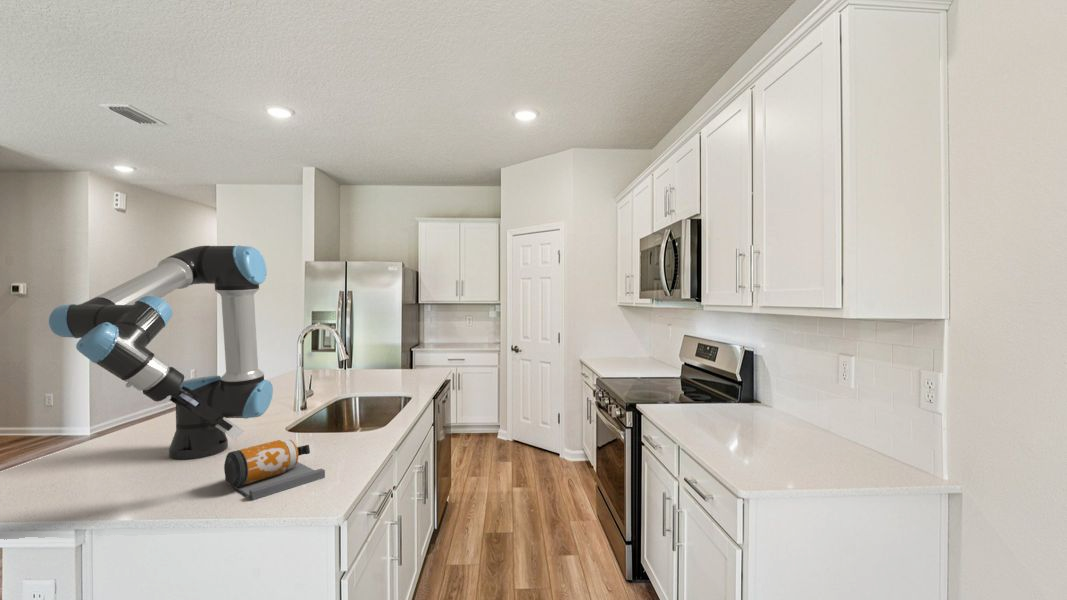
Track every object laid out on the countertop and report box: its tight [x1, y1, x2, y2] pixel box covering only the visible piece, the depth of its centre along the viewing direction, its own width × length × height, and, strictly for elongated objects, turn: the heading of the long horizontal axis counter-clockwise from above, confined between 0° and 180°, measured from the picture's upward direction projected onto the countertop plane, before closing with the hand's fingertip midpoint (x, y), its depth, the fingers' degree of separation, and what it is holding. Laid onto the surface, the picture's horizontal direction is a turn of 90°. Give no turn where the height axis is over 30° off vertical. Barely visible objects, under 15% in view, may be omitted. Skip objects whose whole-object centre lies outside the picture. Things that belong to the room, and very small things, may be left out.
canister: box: [223, 439, 311, 489], centre depth 128 cm, size 9×11×20 cm
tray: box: [224, 461, 326, 501], centre depth 126 cm, size 18×18×2 cm
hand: (238, 434), depth 119 cm, fingers closed
